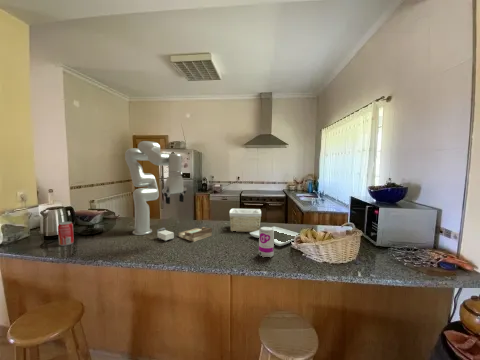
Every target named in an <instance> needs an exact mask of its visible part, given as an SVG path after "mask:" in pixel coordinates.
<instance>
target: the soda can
mask: <svg viewBox="0 0 480 360" xmlns="http://www.w3.org/2000/svg"><path fill="white" fill-rule="evenodd" d="M57 234H58V235H57V237H58V245H59V246H61V247H66V246H70V245H72V244H74V242H75V239H74V236H75V235H74V224H73V222H72V221H63V222H59V223H58V226H57Z"/></svg>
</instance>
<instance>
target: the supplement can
mask: <svg viewBox="0 0 480 360" xmlns="http://www.w3.org/2000/svg"><path fill="white" fill-rule="evenodd" d="M271 227H272V226H262V227H261V226H260V230H259V239H258V255H259V256H260V257H261V256H262V257H261V258H264V257H270V258H272V257H273V256H274V255H275V254H274V252H275V245H274V230H273V228H271Z"/></svg>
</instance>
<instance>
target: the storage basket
mask: <svg viewBox="0 0 480 360" xmlns="http://www.w3.org/2000/svg"><path fill="white" fill-rule="evenodd" d="M261 217H262V210H261V209H260V208H231V209H230V210H229V223H230V232H233V231H236V232H238V233H239V232H240V233H245V232H246V233H251V232H254V231H258V230H260V228H261V219H262V218H261Z"/></svg>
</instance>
